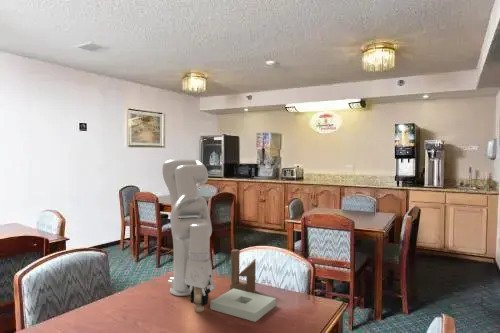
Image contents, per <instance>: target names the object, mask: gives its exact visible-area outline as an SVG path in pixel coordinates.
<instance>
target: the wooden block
mask: <svg viewBox="0 0 500 333" xmlns="http://www.w3.org/2000/svg"><path fill="white" fill-rule="evenodd" d="M230 253H231V257H230V260H231V261H230V264H231V265H230V266H231V267H230V271H231V272H230V279H231V280H230V286H229V291H230V290H231V289H233V288H234V289H238V290H242V291H247V292H251V293H255V292H256V263H257V262H256V258H254V259H253V260H252V261H251V262H250V263H249V264H248V265H247V266H246V267H245V268H244V269H242V270H241V271H240V254H241V253H240V250H239V249H237V248H236V249H235V248H234V249H232V250H231V251H230ZM240 277H243V278H244V277H246V282H244V281H240ZM255 294H256V293H255Z"/></svg>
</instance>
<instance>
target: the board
mask: <svg viewBox="0 0 500 333" xmlns="http://www.w3.org/2000/svg"><path fill="white" fill-rule="evenodd" d="M276 299H277V298H275V297H272V296H267V295H263V294H258V293H251V292H247V291H242V290H238V289H234V288H233V289H231V290H230V289H229V290H228V291H226V292H224V293H223V294H221V295H219V296H218V297H215V298H214V299H212V300H211V301H210V310H212V311H215V312H219V313H223V314H226V315H230V316H234V317H237V318H241V319H242V320H243V319H244V320H247V321H250V322H254V323H256V322H257V321H259V320H260V319H261V318H262V317H263V316H265V315H266V314H268V313H269V312H270V311H271V310H272V309H274V308H275V307H277V306H276V303H277V301H276Z"/></svg>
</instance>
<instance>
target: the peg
mask: <svg viewBox="0 0 500 333" xmlns="http://www.w3.org/2000/svg"><path fill="white" fill-rule="evenodd" d="M202 295H203V293H202V288H198V287H194V302H193V304H194V312H196V313H201V312H204V311H205V309H204V308H205V307H204V306H202V305H201V300H202Z"/></svg>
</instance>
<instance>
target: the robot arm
mask: <svg viewBox="0 0 500 333" xmlns="http://www.w3.org/2000/svg"><path fill="white" fill-rule="evenodd" d="M208 172H209V171H208V169H207V167H206V165H205V164H204V163H203V162H201V161H200V160H198V159H177V158H176V159H169V160H166V161H165V162H164V163H163V164H162V178H163V180H164V184H165V185H166V187H167V190H168V192H169V198H170V206H171V212H170V227H171V228H170V229H171V236H172V245H173V276H171V277H169V280H167V283H168V284H170V285H171V287H170V288H169V293H170V294H171V295H173V296H178V297H185V296H187V297H188V296H190V304H194V287H198V288H202V293H203V295H202V300H201V305H202V306H207V305H208V304H209V294H210V293H211V292H212V291H213V290H215V289H216V286H215V283H214V282H213V266H212V260H211V259H210V245H211V244H210V243H211V242H210V237H211V236H212V233H213V225H212V220H211V217H210V215H211V214H210V212H209V206H208V202H207V200H206V199H205V198H204V197H203V196H201V195H200V194H199V190H198V185H199V184H201V185H202V184H206V183H207V181H208V180H209V179H208V178H209V173H208ZM199 195H200V196H199Z"/></svg>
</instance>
